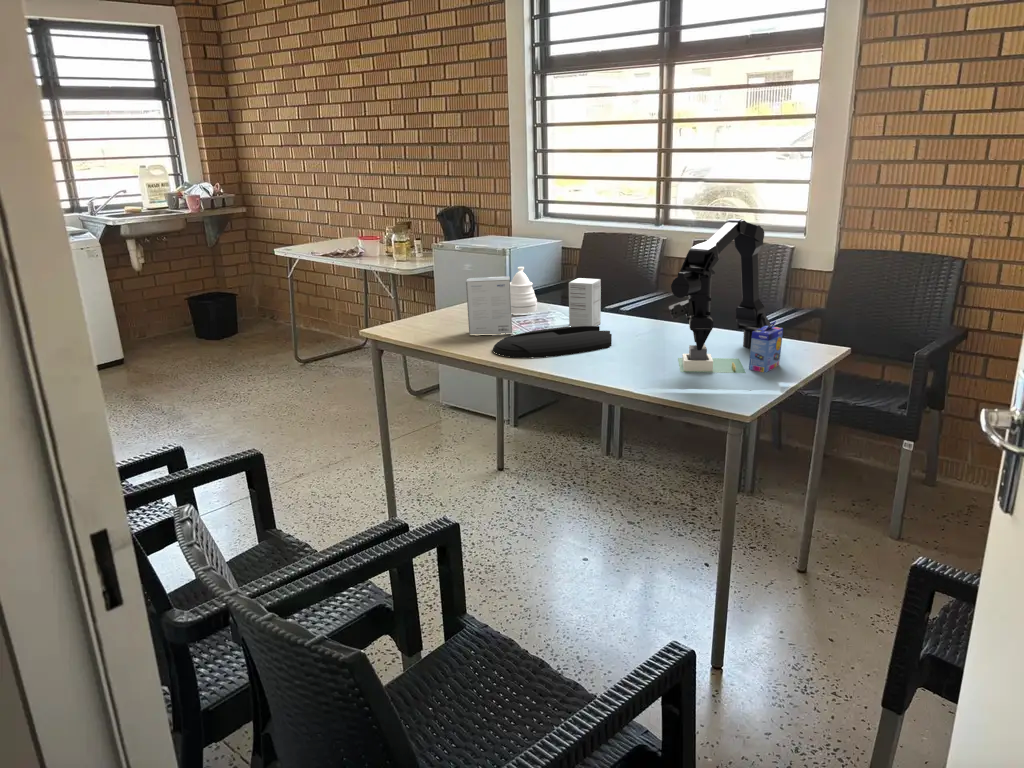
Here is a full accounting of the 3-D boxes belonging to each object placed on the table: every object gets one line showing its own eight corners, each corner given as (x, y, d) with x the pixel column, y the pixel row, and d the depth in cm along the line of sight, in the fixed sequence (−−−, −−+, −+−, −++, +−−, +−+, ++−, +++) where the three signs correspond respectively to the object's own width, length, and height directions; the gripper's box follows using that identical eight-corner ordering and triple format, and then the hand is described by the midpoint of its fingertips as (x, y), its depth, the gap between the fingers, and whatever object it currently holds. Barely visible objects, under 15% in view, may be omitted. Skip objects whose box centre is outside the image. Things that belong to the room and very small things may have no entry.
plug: (688, 365, 221) (689, 343, 219) (704, 365, 220) (705, 343, 219) (690, 369, 217) (690, 347, 215) (706, 369, 216) (707, 347, 214)
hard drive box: (512, 330, 275) (510, 276, 269) (512, 335, 267) (510, 279, 261) (470, 331, 275) (467, 277, 269) (468, 336, 268) (465, 281, 262)
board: (677, 361, 229) (677, 353, 228) (738, 361, 226) (739, 353, 226) (680, 375, 215) (680, 367, 214) (745, 376, 212) (746, 367, 211)
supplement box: (578, 322, 284) (577, 277, 279) (601, 323, 280) (601, 278, 275) (568, 327, 276) (568, 281, 271) (592, 329, 272) (592, 283, 267)
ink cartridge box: (766, 376, 212) (769, 325, 207) (747, 372, 215) (750, 323, 211) (780, 368, 219) (784, 319, 214) (762, 365, 222) (765, 317, 218)
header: (682, 363, 223) (682, 353, 222) (710, 363, 222) (710, 353, 221) (683, 371, 215) (684, 361, 215) (712, 371, 214) (713, 361, 213)
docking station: (481, 346, 255) (481, 332, 254) (588, 332, 269) (588, 319, 268) (508, 364, 233) (508, 349, 232) (623, 348, 247) (623, 333, 246)
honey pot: (508, 309, 311) (506, 265, 306) (539, 309, 309) (538, 265, 304) (502, 315, 299) (501, 270, 294) (535, 316, 297) (533, 270, 292)
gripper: (669, 286, 222) (667, 338, 227) (672, 298, 204) (670, 354, 209) (708, 286, 220) (705, 338, 225) (714, 298, 203) (712, 354, 207)
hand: (697, 346), depth 217 cm, fingers open, 9 cm apart
